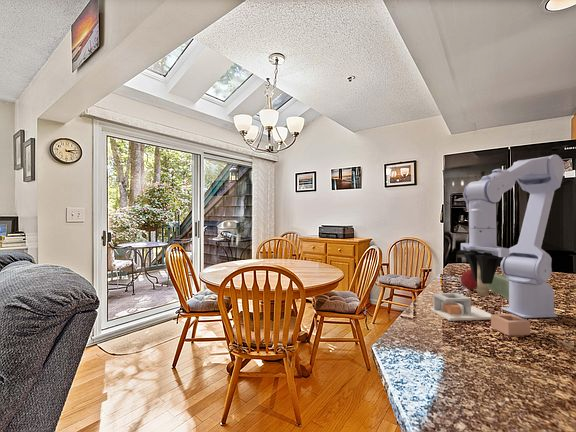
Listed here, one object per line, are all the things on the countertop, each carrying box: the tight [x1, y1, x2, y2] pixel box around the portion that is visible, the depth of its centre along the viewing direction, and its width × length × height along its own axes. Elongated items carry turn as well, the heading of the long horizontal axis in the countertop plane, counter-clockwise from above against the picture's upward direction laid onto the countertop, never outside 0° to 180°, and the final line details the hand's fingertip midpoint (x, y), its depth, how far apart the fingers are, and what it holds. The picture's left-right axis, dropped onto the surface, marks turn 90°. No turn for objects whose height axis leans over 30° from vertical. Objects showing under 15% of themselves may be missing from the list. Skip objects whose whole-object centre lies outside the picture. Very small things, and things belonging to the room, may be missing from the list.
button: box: [444, 303, 460, 314], centre depth 80 cm, size 3×3×2 cm
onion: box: [460, 267, 477, 291], centre depth 106 cm, size 6×6×8 cm
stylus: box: [476, 261, 489, 297], centre depth 74 cm, size 2×2×8 cm
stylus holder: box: [490, 313, 531, 337], centre depth 69 cm, size 5×5×3 cm
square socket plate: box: [429, 292, 493, 322], centre depth 81 cm, size 13×9×5 cm
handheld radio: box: [488, 272, 509, 301], centre depth 100 cm, size 7×3×25 cm
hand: (483, 282), depth 74 cm, fingers closed on stylus, 2 cm apart
